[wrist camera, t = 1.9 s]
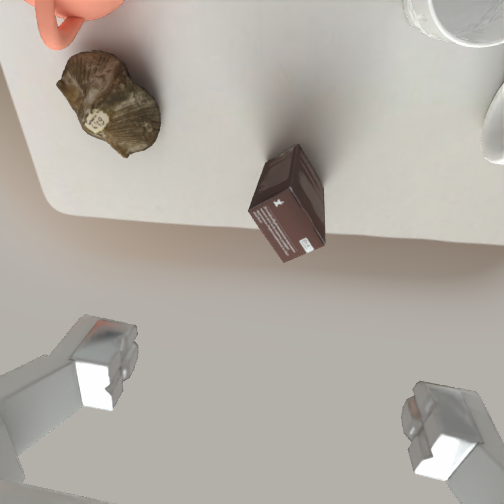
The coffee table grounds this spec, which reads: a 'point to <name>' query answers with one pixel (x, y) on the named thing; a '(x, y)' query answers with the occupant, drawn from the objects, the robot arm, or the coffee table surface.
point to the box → (290, 205)
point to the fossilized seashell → (110, 102)
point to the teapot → (68, 18)
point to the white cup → (458, 20)
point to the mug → (494, 130)
